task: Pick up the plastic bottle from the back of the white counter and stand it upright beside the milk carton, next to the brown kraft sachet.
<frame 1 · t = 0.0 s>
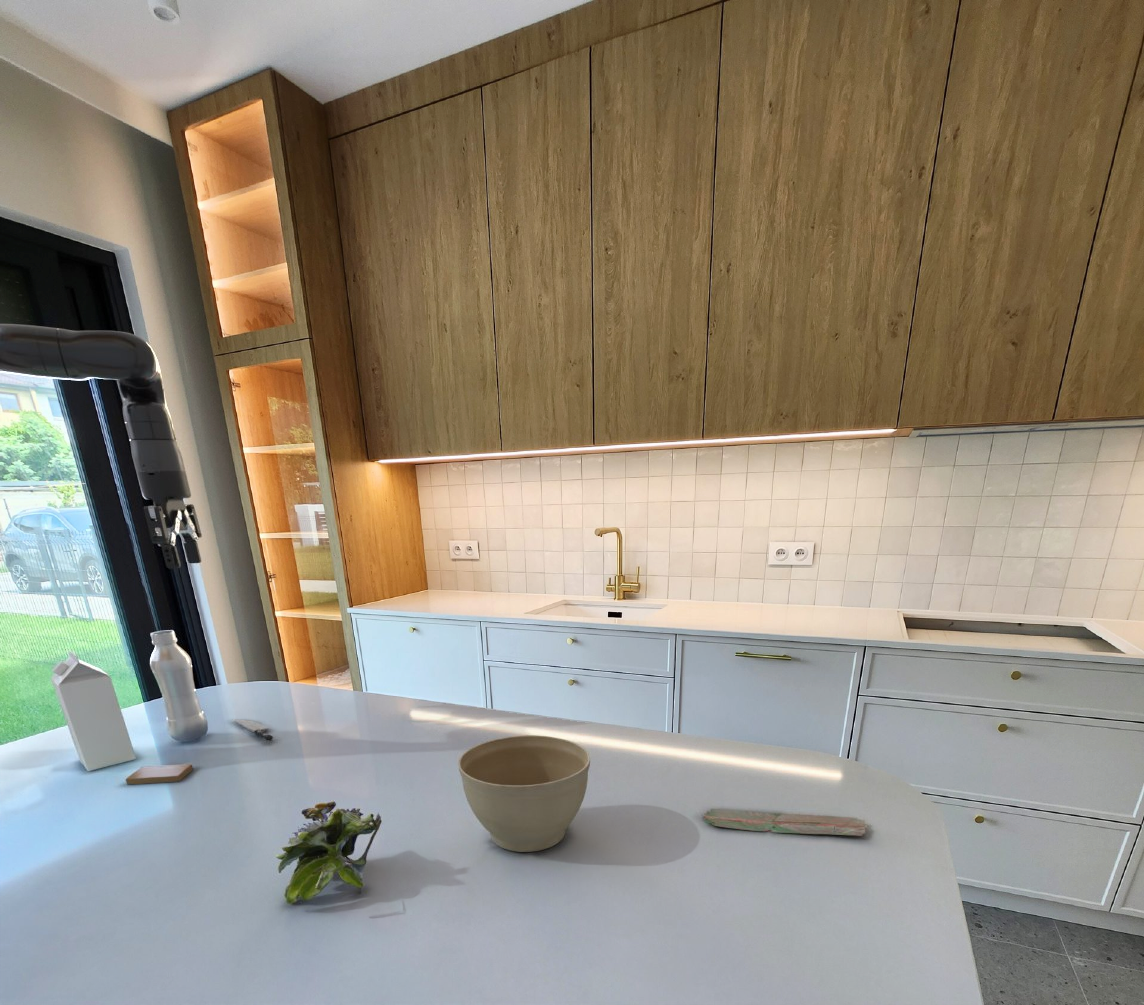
hand: (185, 565, 120), 30 cm above the countertop, tool pointing down, fingers open, 8 cm apart
plastic bottle: (191, 739, 122), on the countertop
passion flower: (341, 883, 75), on the countertop
planter bowl: (529, 836, 84), on the countertop
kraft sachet: (161, 776, 106), on the countertop
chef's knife: (257, 730, 125), on the countertop
map: (783, 825, 85), on the countertop
milk carton: (108, 761, 113), on the countertop
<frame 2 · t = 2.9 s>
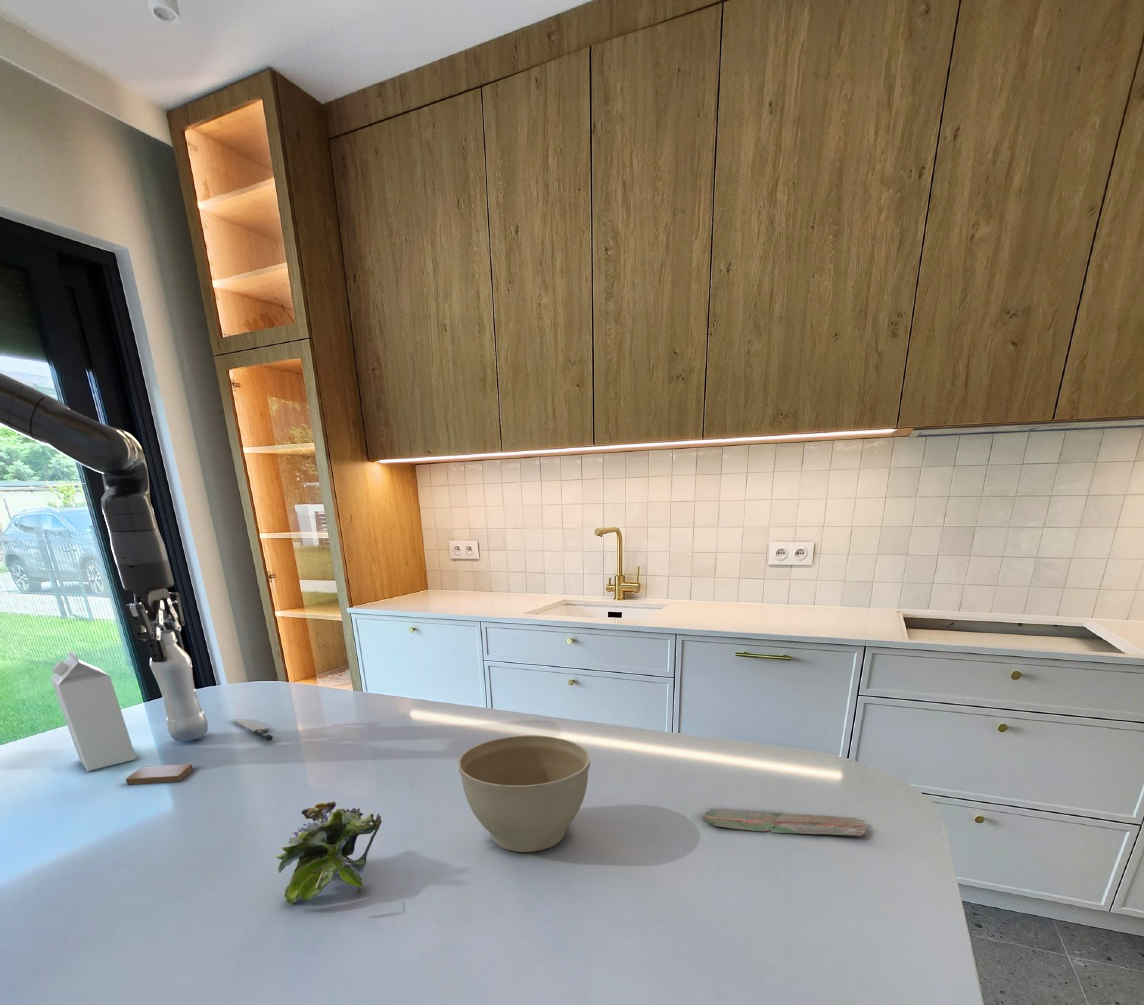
hand: (169, 657, 116), 16 cm above the countertop, tool pointing down, fingers closed on plastic bottle, 6 cm apart
plastic bottle: (191, 739, 122), on the countertop, touching gripper
everything else where it was.
when the fingers open (16 cm above the countertop, at t = 11.6 s): plastic bottle stays where it is, on the countertop.
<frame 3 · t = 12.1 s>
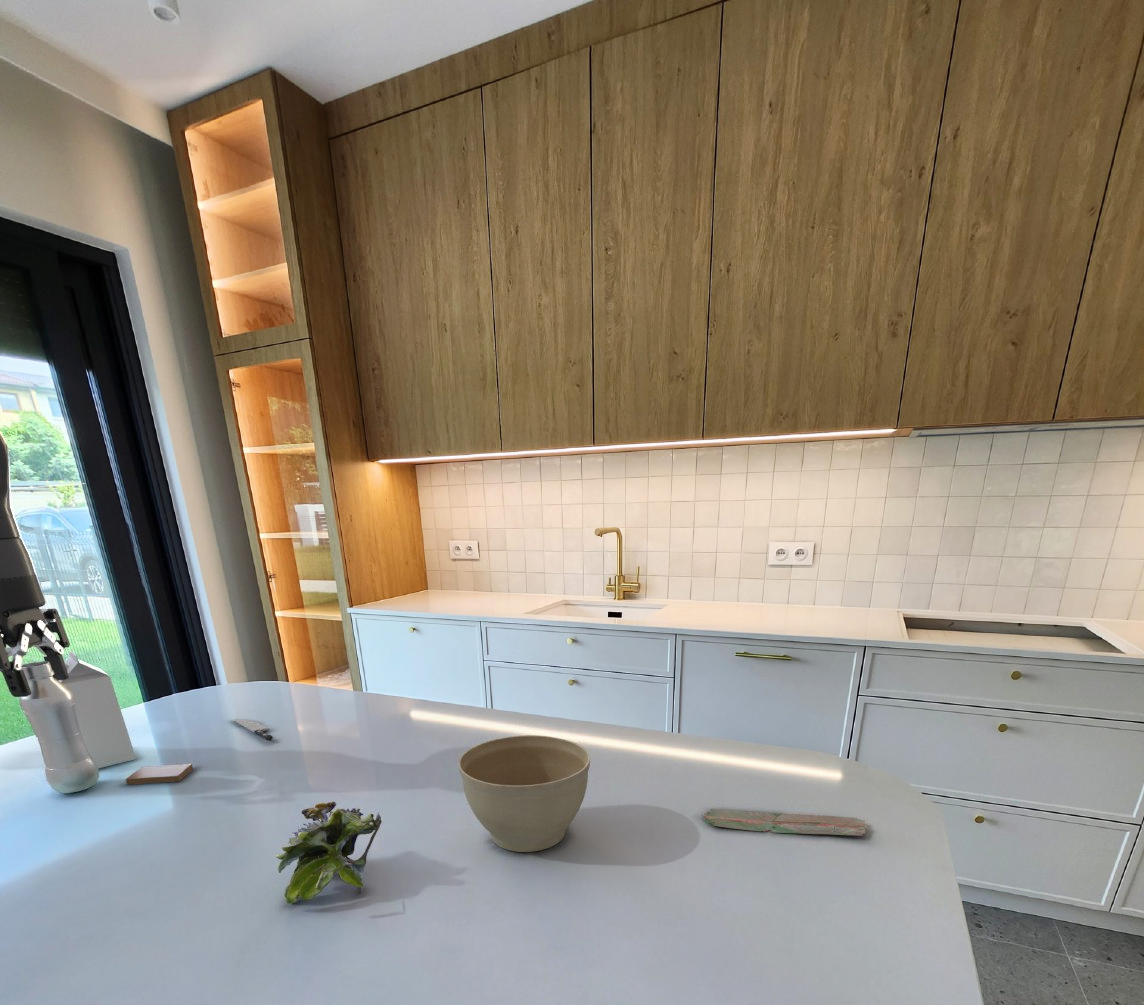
hand: (42, 687, 96), 17 cm above the countertop, tool pointing down, fingers open, 8 cm apart
plastic bottle: (78, 790, 102), on the countertop
everything else where it was.
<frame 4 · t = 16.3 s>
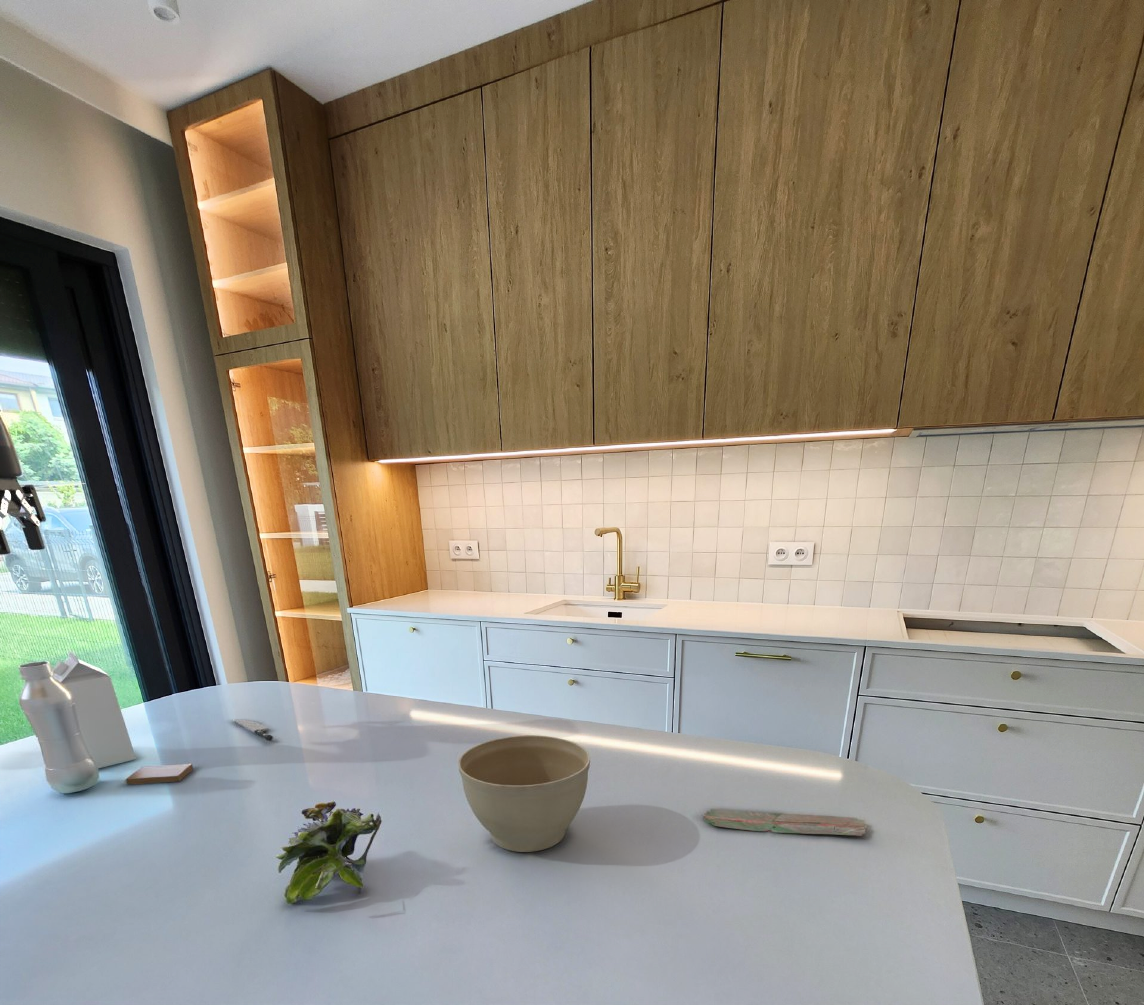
hand: (20, 552, 109), 34 cm above the countertop, tool pointing down, fingers open, 8 cm apart
nothing on the countertop moved.
at the end: plastic bottle 12.1 cm from the milk carton (horizontally); plastic bottle tilted 0°; milk carton moved 0.2 cm from its start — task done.
